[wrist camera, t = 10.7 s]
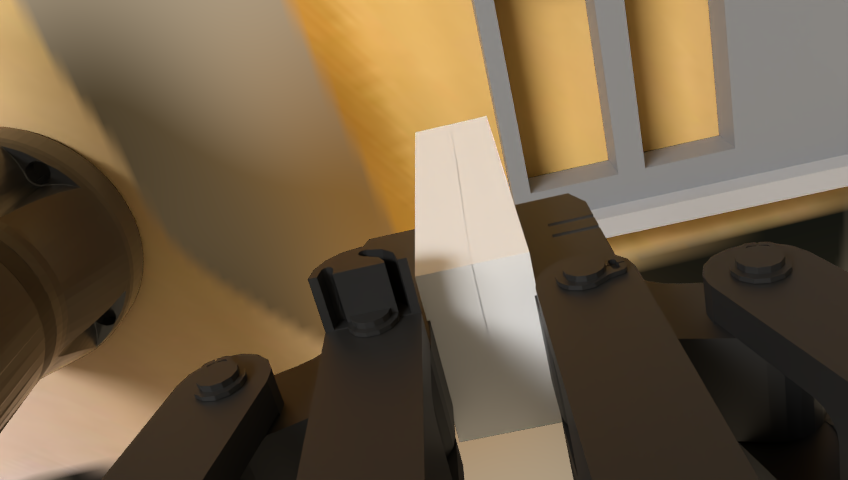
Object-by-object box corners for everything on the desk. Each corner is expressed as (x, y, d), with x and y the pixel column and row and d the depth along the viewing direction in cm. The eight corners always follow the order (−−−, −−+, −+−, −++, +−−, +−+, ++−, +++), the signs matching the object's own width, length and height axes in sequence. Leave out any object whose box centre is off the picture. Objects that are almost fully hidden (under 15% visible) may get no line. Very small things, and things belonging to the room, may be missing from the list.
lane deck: (517, 227, 48) (529, 267, 43) (454, -83, 40) (460, -79, 35) (1063, 108, 45) (1144, 135, 40) (1099, -247, 38) (1204, -268, 33)
